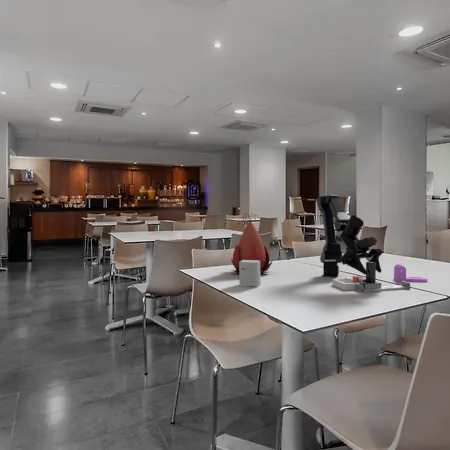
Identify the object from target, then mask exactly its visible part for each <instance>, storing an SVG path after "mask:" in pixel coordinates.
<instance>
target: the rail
mask: <svg viewBox="0 0 450 450" xmlns="http://www.w3.org/2000/svg"><path fill="white" fill-rule="evenodd" d="M400 283H401V284H400V285H397V284H395V285H386V286H385V285H381V288H373V289H364V286H363V285H360V284H356V290H355V291H358V292H359V293H365V292H369V293H370V292H382V291H398V290H410V289H411V282H405V281H400Z"/></svg>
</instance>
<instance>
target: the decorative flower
mask: <svg viewBox="0 0 450 450" xmlns="http://www.w3.org/2000/svg"><path fill="white" fill-rule="evenodd" d="M246 216H248V218H247V217H246ZM250 216H253V217H256V216H257V217H258V218H259V222H260V223H261V222H262V220H261V217H260V216H259V215H258V214H255V213H251V215H249V213H244V214H243V216H242V217H240V218H239V219H238V225H240V219H242V221H248V222H247V224H246V226H245V228H244V229H243V232H242V234H241V236H240V239H239V242H238V243H236V245H235V247H234V250H233V254H232V258H231V259H230V261H231V263H232V265H233V267H234V269H230V270H231V271H233V272H237V273H239V272H238V271H239V262H240V261H242V260H260V274H266V273H269V271H268V270H269V269H270V267H271V265H272V263H273V260H274V259H272V260H271V261H270V252H269V251H268V248H267V247H266V245H264V243H263V241H262V237H261V236H260V234H259V232H258V230H257V228H256V227H255V225H254V224H253V223H252V218H253V217H250ZM244 218H245V219H244ZM254 221H256V218H254ZM235 269H236V270H235ZM237 270H238V271H237Z"/></svg>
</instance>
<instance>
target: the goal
mask: <svg viewBox="0 0 450 450" xmlns="http://www.w3.org/2000/svg"><path fill="white" fill-rule="evenodd" d="M343 279H344V278H332V286H334V287H336V288H338V289H341V290H343V291H354V290H355V291H357V290H356V284H360V283H344V282H342V281H343Z"/></svg>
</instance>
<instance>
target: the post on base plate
mask: <svg viewBox="0 0 450 450" xmlns="http://www.w3.org/2000/svg"><path fill="white" fill-rule="evenodd" d="M365 270H366V272H367V274H366V275H365V277H364V276H361V275H352V282H353V283H360V285H363V286H364V289H373V288H381V286H382V282H380V281H376V278H377V277H376V274H377V273H376V272H377V271H376V262H369V261H365Z"/></svg>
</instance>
